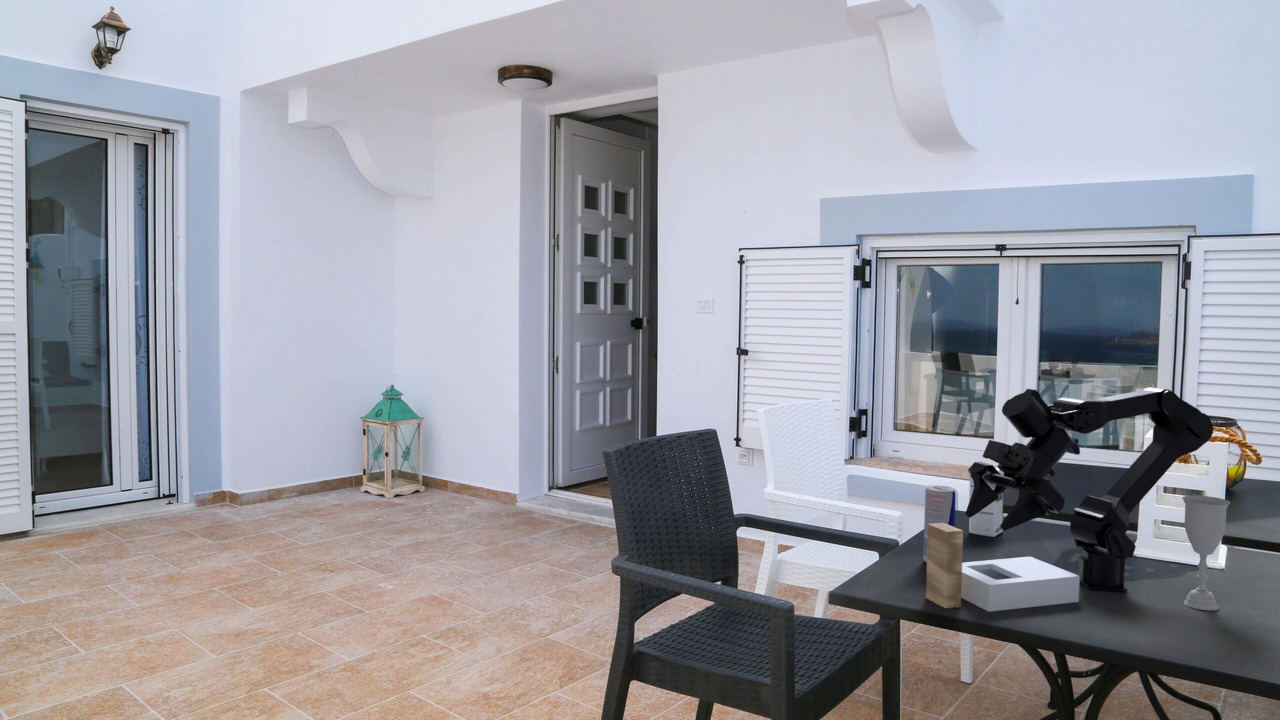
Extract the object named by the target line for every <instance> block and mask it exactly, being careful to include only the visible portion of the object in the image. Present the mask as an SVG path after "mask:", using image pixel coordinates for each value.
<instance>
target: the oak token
mask: <svg viewBox="0 0 1280 720" xmlns="http://www.w3.org/2000/svg"><path fill="white" fill-rule="evenodd" d="M963 539H964V530H962V529H961V528H957V527H956V526H955V527H953V526H950V525H948V524H945V523H933V524H928V542H927V563H926V583H925V584H926V585H925V586H926V588H925V589H926V590H925V599H927V600H929V601H931V602H932V601H933V602H932V603H934V604H936V605H938V606H940V607H942V608H943V607H944V609H945V608H947V609H954V607H956V608H961V607H962V598H961V586H962V563H963V550H964V549H963V544H964V540H963Z"/></svg>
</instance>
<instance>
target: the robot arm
mask: <svg viewBox="0 0 1280 720" xmlns="http://www.w3.org/2000/svg"><path fill="white" fill-rule="evenodd" d="M1001 413H1002V414H1003V416H1004V417H1005V418H1006V419H1007V420H1008V421H1009V423H1010V424H1011V425H1012V426H1013V427H1014V429H1015V430H1016V431H1017V433H1019V434H1020V436H1022V437H1023V438H1026V439H1027V438H1028V439H1030V438H1031V439H1030V440H1029V441H1028V442H1027V443H1026V444H1023V443H1020V442H1014V443H1013V444H1012V445H1011V444H1007V443H1005V442H1002V441H1001V442H1000V441H996V440H993V439H988V443H987V444H986V446H985V449H984V452H983V454H982V458H984V459H989V460H991V461H992V462H995V463H997V466H994V465H993V464H990V463H987V462H983V461H974V462H973V463H972V465H970V466H969V468H968V469H967V471H968V474H969V477H970V476H971V478H972V479H973V482H974V489H973V493H972V496H971V499H970V501H968V505H967V507H966V511H965V513H964V514H965V516H966V517H967V518H968V519H969V518H971V517H972V516H974V515H976V514H977V513H978V512H980V511H981V510H983V509H984V508H985V507H987V506H988V505H990V504H991V503H993V502H994V501H995V500H997V499H998V498H999V496H998V494H1000V493H1003V494H1004V492H1005V490H1006V489H1008V490H1012V491H1015V492H1018V499H1017V501H1016V502H1015V504H1014V505H1013V506H1012V507H1011V509H1010V510H1009V512H1008V513H1007V515H1006V516H1005V517H1004V518H1003V522H1002V524H1001V525H1000V527H1001V529H1002V530H1003V532H1006V531H1008V530H1010V529H1012V528H1016V527H1017V526H1020V525H1022V524H1024V523H1027V522H1030V521H1033V520H1036V519H1037V518H1040V517H1044V516H1050V515H1051V514H1052V513H1054V514H1057V515H1058V514H1059V513H1060V512H1061V511H1062V510H1063V508H1064V507H1065V505H1066V504H1065V503H1066V502H1065V501H1066V498H1065V496H1064V495H1063V494H1062V493H1061V492H1060V491H1059V489H1058V488H1057V487H1056V486H1055V485H1054V483H1053V482H1052V481H1051V480H1049V479H1046V477H1049V478H1054V476H1055V475H1056V474H1057V473H1056V472H1055V471H1054V467H1056V465H1057V464H1058V463H1059V462H1060V460H1061V459H1062V458H1063V456H1065V454H1066V453H1067V454H1073V455H1077V456H1079V455H1080V454H1081V448H1080V445H1079V439H1078V438H1074V437H1071V436H1070V435H1069V433H1068V432H1072V433H1077V434H1083V435H1085V434H1086V435H1088V434H1090V433H1093V432H1096V431H1098V430H1100V429H1102V428H1104V427H1105V426H1106V425H1107V424H1108V423H1110V422H1112V421H1117V420H1122V419H1127V418H1132V417H1136V416H1141V415H1146V414H1147V415H1148V418H1149V420H1150V421H1151V422H1152V423H1153V424H1154V426H1153V429H1152V441H1151V443H1150V444H1148V445H1147V447H1146V448H1145V449H1144V451H1143V452H1142V453H1141V454H1140V455H1139V456H1138V457H1137V458H1136V459H1135V460H1134V461H1133V463H1132V464H1131V465H1130V466H1129V467H1128V468H1127V469H1126V471H1125V472H1124V473H1123V474H1122V475H1121V476H1120V477H1119V479H1117V481H1116V482H1115V483H1114V484H1113V485H1112V487H1111V488H1110V489H1109V490H1108V491H1107V492H1106V493H1105V494H1104V495H1103V496H1101V497H1096V496H1093V495H1087V496H1086V497H1084V498H1083V499H1082V501H1081V503H1080V504H1079V505H1078V506H1077V507H1075V508H1073V509H1072V511H1073V512H1074V513H1073V514H1072V516H1071V517H1070V519H1069V523H1070V525H1069V526H1070V527H1069V528H1070V533H1071V534H1072V536H1073V540H1074V543H1075V547H1076V548H1082V554H1081V555H1082V556H1079V557H1078V573H1077V575H1078V576H1080V577H1079V582H1081V583H1082V585H1084V586H1085V587H1086V588H1087V589H1089V590H1093V591H1094V590H1097V591H1114V592H1116V591H1117V592H1128V587H1127V586H1125V573H1126V572H1125V570H1126V569H1125V568H1126V560H1127V559H1128V558H1129V559H1130V558H1133V557H1134V553H1135V550H1136V544H1135V543H1134V542H1133V541H1132V539H1130V538H1129V536H1128V535H1127V534H1126V533H1127V531H1129V527H1130V526H1129V525H1130V514H1131V513H1132V511H1134V509H1135V508H1136V507H1137V505H1138V504H1140V502H1141V501H1142V500H1143V499H1144V498H1145V496H1147V494H1148V493H1149V492H1150V491H1151V490H1152V488H1153V487H1154V486H1155V485H1156V484H1157V483H1158V482H1159V481H1160V480H1161V478H1162V477H1163V476H1164V475H1165V473H1167V471H1168V470H1169V469H1170V468H1171V467H1172V466H1173V464H1174V463H1175V462H1176V461H1177V460H1178V459H1179V458H1181V457H1184V456H1186V455H1189V454H1192V453H1194V452H1196V451H1198V450H1199V449H1200V448H1202V447H1203V446H1204V445H1205V444H1206V443H1207V442H1209V441H1210V439H1211V438H1212V436H1213V434H1214V424H1213V422H1212V419H1211V418H1210V416H1209V415H1208V414H1206V413H1204V412H1203V411H1201V410H1199V409H1198V408H1197V407H1195V406H1194V405H1192V404H1191V403H1189V402H1188V401H1185V400H1183V399H1181V398H1180V397H1179V396H1178V394H1176V393H1175V392H1174V391H1172V390H1171V389H1168V388H1166V389H1165V388H1161V387H1147V388H1144V389H1141V390H1135V391H1131V392H1126V393H1125V392H1124V393H1121V394H1115V395H1110V396H1105V397H1099V398H1085V397H1082V398H1081V397H1059V398H1056V399H1055V400H1054V401H1053V404H1047V403H1046V402H1045V400H1044V399H1043V398H1042V396H1041V394H1040V393H1039V391H1038V390H1037V389H1033V388H1026V389H1025V391H1024V392H1021V393H1018V394H1016V395H1014V396H1013V397H1011V398H1010V399H1007V400H1006V401H1005V403H1004V404H1003V406H1002V408H1001ZM995 467H998V468H999V469H1000V470H1001V471H1003V472H1004V474H1003V476H1002V475H1001V474H1000V473H999V472H998V471H997V470H996V468H995ZM970 474H971V475H970Z"/></svg>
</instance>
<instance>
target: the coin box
mask: <svg viewBox="0 0 1280 720" xmlns="http://www.w3.org/2000/svg"><path fill="white" fill-rule="evenodd" d="M1079 577H1080V576H1078V574H1076V573H1072V572H1070V571H1069V570H1065V569H1063V568H1061V567H1057V566H1055V565H1052V564H1050V563H1047V562H1044V561H1042V560H1040V559H1037V558H1035V557H1034V556H1023V557H1022V556H1021V557H1012V558H1011V557H1010V558H1000V559H999V558H998V559H987V560H976V561H966V562H962V586H961V599H963V600H965V601H967V602H968V603H971V604H972V605H975V606H977V607H978V608H981V609H983V610H984V611H986V612H988V613H989V612H997V611H998V612H999V611H1007V610H1016V609H1027V608H1033V607H1044V606H1052V605H1059V604H1060V605H1062V604H1071V603H1073V604H1074V603H1079V600H1080V598H1079V597H1080V580H1079Z"/></svg>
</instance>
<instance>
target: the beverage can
mask: <svg viewBox="0 0 1280 720" xmlns="http://www.w3.org/2000/svg"><path fill="white" fill-rule="evenodd" d="M924 492H925V493H924V525H923V527H924V529H923V531H924V532H923V561H924V562H925V563H926V564H927V542H928V524H933V523H945V524H948V525H950V526H953V527H955V528H956V526H955V522H956V495H957V494H956V488H955V487H951V486H947V485H927V486H925V491H924Z"/></svg>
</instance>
